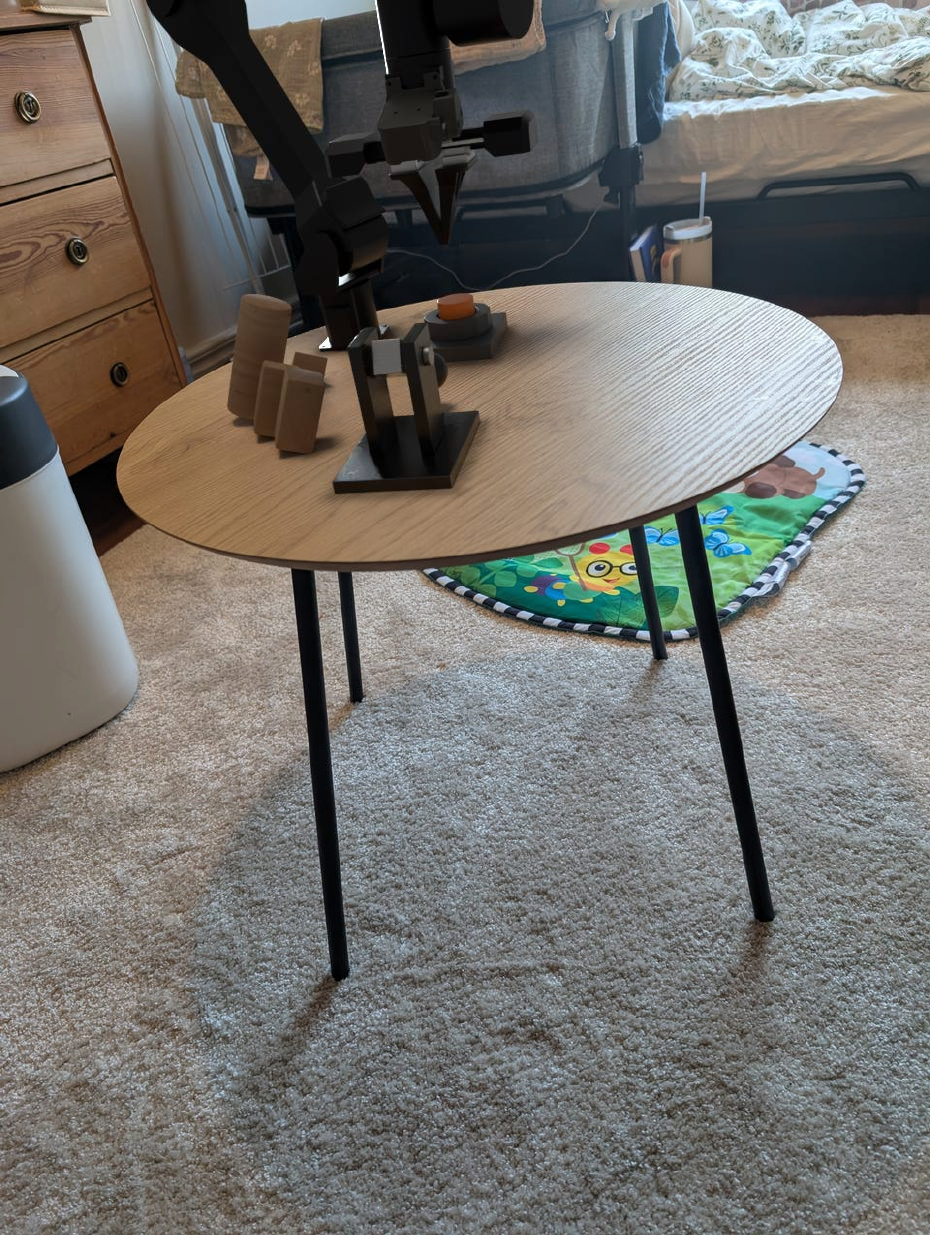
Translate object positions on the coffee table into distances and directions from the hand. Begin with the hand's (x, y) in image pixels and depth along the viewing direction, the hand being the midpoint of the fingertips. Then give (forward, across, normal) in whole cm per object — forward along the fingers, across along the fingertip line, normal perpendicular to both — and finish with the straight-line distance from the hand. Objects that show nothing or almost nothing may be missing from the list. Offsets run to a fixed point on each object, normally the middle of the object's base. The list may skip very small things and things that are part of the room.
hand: (445, 244), depth 86 cm
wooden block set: (+10, -13, -17) cm, 23 cm away
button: (+7, 0, 0) cm, 7 cm away
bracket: (+10, +1, -26) cm, 28 cm away
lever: (+6, +1, -22) cm, 23 cm away
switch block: (+10, 0, 0) cm, 10 cm away
